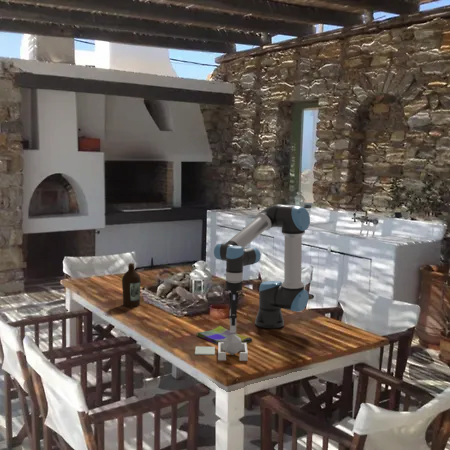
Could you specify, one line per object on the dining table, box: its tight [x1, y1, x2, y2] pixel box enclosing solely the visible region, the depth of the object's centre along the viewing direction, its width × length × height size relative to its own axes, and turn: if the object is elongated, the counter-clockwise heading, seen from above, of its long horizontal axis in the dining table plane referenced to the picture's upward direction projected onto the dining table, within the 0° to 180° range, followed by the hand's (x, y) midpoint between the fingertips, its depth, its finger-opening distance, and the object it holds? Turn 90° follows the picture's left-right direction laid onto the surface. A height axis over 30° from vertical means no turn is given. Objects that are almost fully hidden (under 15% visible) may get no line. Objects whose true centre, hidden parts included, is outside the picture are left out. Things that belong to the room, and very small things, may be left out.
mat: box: [194, 345, 216, 356], centre depth 259 cm, size 9×9×1 cm
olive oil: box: [121, 262, 142, 308], centre depth 327 cm, size 11×11×25 cm
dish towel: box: [196, 325, 253, 346], centre depth 277 cm, size 18×24×3 cm
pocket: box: [217, 342, 249, 362], centre depth 255 cm, size 13×13×4 cm
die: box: [223, 334, 242, 356], centre depth 255 cm, size 8×9×10 cm
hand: (232, 327), depth 253 cm, fingers open, 13 cm apart
